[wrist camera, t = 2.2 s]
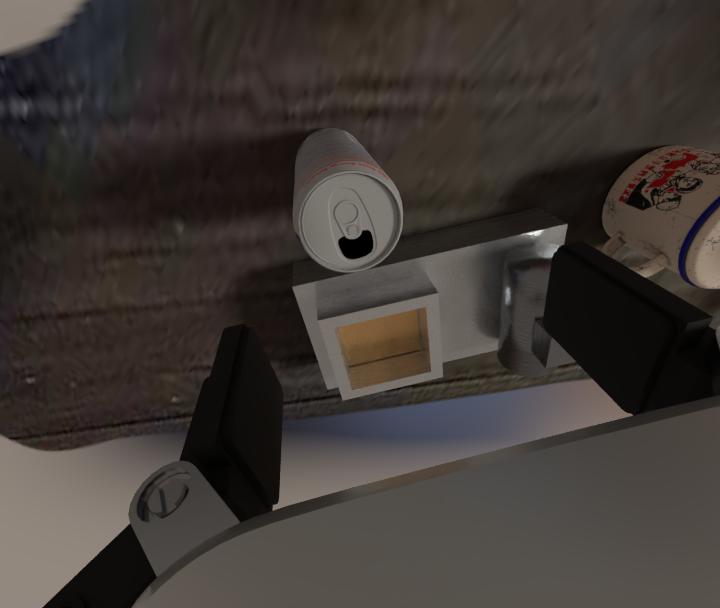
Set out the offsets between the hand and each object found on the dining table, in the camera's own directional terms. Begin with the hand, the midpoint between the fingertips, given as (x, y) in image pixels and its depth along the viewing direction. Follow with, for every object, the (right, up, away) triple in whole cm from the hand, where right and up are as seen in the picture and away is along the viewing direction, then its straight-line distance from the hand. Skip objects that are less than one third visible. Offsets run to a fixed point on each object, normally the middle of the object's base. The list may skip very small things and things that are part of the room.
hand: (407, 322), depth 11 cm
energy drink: (-4, +11, +15) cm, 19 cm away
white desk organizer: (+4, +2, +23) cm, 23 cm away
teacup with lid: (+23, +10, +21) cm, 33 cm away
